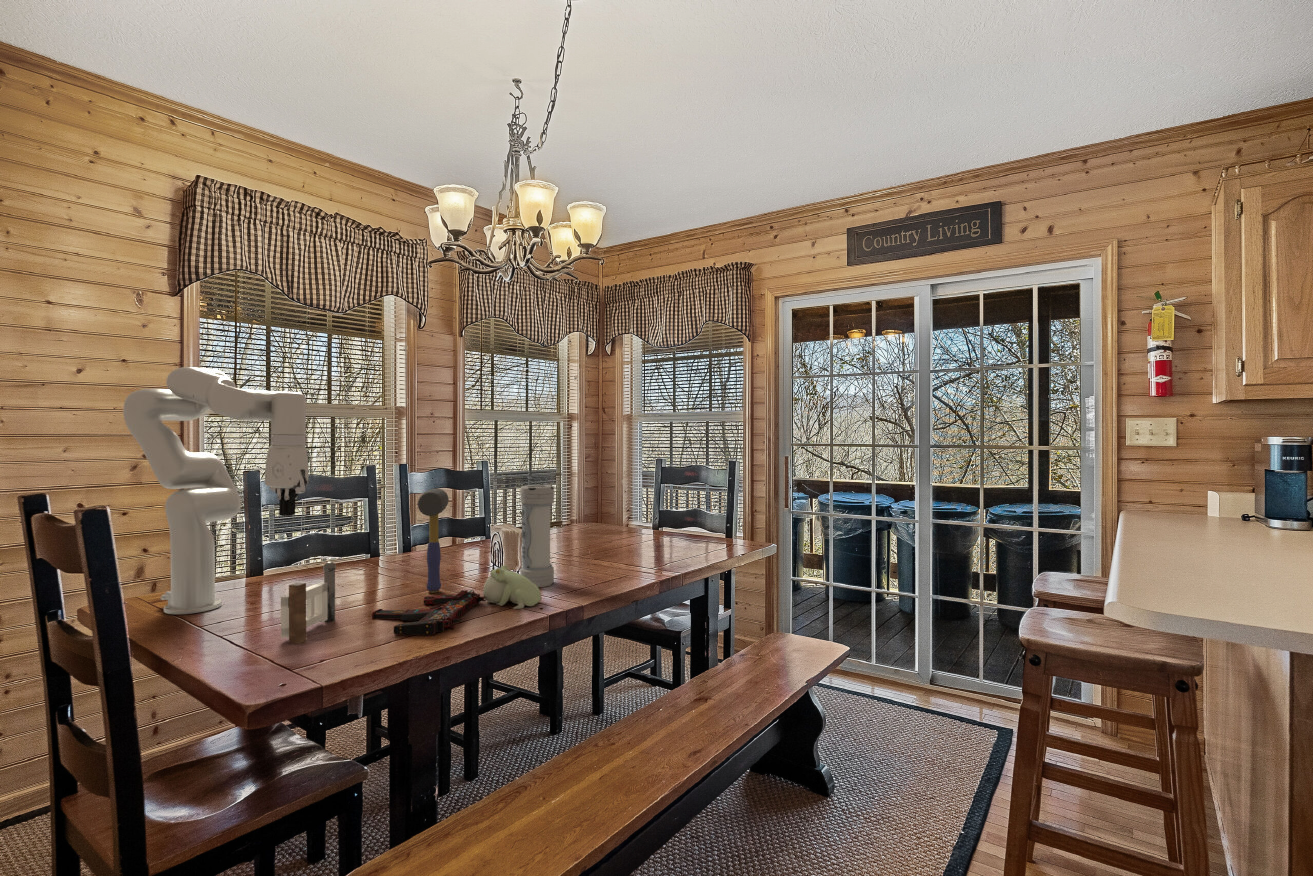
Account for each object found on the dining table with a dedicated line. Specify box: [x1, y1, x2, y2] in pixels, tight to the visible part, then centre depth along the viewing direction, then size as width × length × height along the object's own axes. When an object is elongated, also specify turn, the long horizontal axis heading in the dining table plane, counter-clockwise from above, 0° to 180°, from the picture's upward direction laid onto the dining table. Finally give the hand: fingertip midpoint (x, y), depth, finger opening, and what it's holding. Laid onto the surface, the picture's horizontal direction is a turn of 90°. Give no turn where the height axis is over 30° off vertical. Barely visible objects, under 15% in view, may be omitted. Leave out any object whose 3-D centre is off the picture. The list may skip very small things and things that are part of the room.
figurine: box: [482, 565, 542, 610], centre depth 182 cm, size 10×16×10 cm, turn 75°
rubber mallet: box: [417, 488, 450, 593], centre depth 193 cm, size 12×8×30 cm, turn 9°
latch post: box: [288, 582, 307, 645], centre depth 148 cm, size 3×2×13 cm
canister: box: [520, 484, 555, 589], centre depth 204 cm, size 10×10×30 cm
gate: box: [280, 582, 328, 639], centre depth 156 cm, size 2×15×9 cm, turn 173°
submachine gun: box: [371, 589, 487, 636], centre depth 171 cm, size 34×4×25 cm
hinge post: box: [322, 561, 337, 623], centre depth 165 cm, size 3×3×15 cm
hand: (287, 515), depth 166 cm, fingers closed
